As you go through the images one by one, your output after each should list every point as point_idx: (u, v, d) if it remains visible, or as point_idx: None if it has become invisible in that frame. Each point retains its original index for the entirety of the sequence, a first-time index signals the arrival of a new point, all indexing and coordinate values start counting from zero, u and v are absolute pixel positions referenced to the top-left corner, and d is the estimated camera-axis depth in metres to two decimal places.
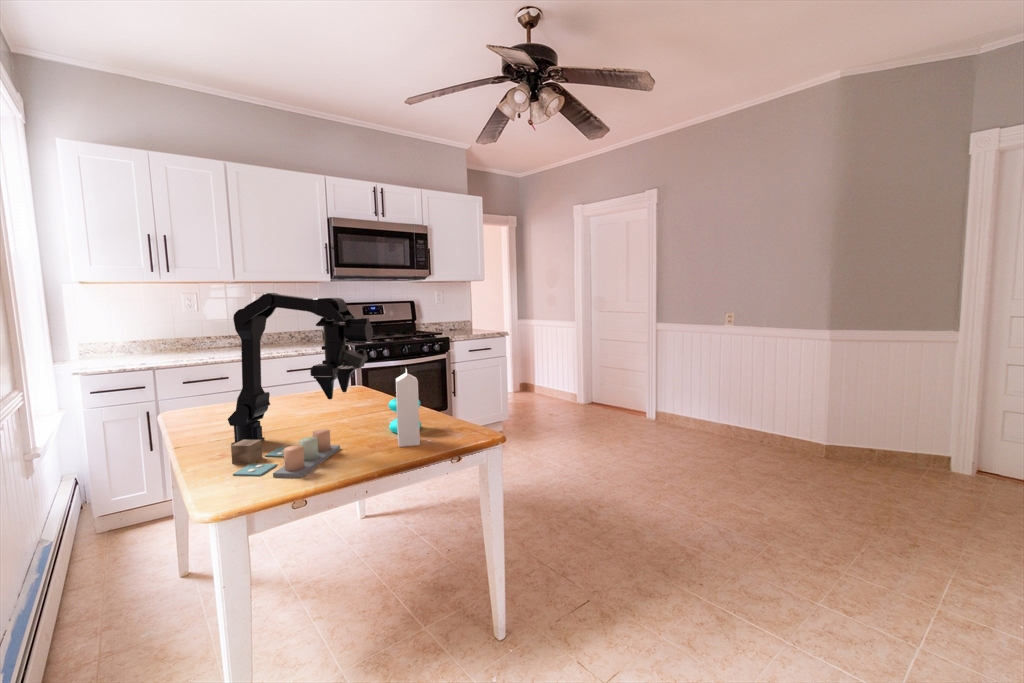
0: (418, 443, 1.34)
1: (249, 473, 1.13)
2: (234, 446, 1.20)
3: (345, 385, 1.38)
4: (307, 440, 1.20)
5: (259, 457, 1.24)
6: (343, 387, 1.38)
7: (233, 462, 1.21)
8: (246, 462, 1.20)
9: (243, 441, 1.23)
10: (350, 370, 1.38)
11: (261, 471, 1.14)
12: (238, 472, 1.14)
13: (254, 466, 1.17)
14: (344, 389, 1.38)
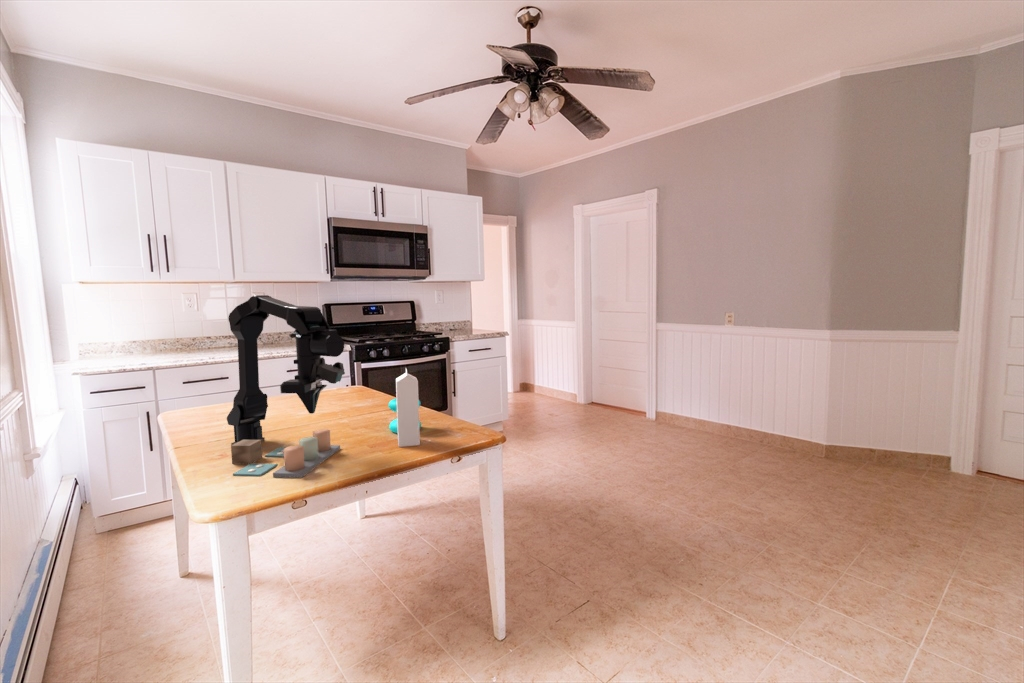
0: (418, 443, 1.34)
1: (249, 473, 1.13)
2: (234, 446, 1.20)
3: None
4: (307, 440, 1.20)
5: (259, 457, 1.24)
6: None
7: (233, 462, 1.21)
8: (246, 462, 1.20)
9: (243, 441, 1.23)
10: (318, 388, 1.24)
11: (261, 471, 1.14)
12: (238, 472, 1.14)
13: (254, 466, 1.17)
14: None
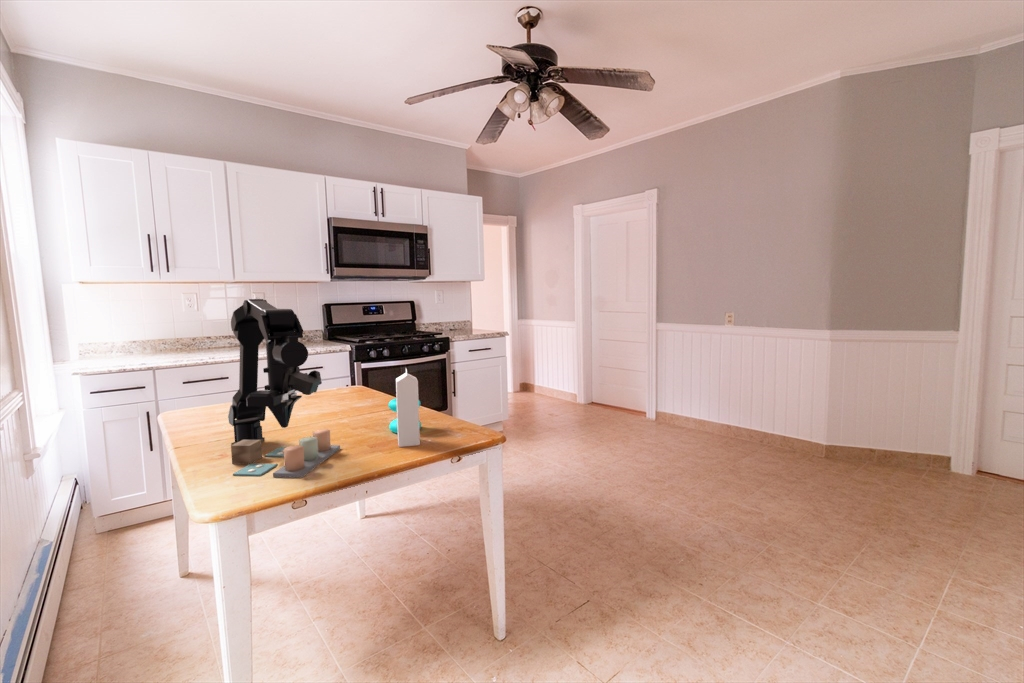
0: (418, 443, 1.34)
1: (249, 473, 1.13)
2: (234, 446, 1.20)
3: None
4: (307, 440, 1.20)
5: (259, 457, 1.24)
6: None
7: (233, 462, 1.21)
8: (246, 462, 1.20)
9: (243, 441, 1.23)
10: (292, 399, 1.11)
11: (261, 471, 1.14)
12: (238, 472, 1.14)
13: (254, 466, 1.17)
14: None
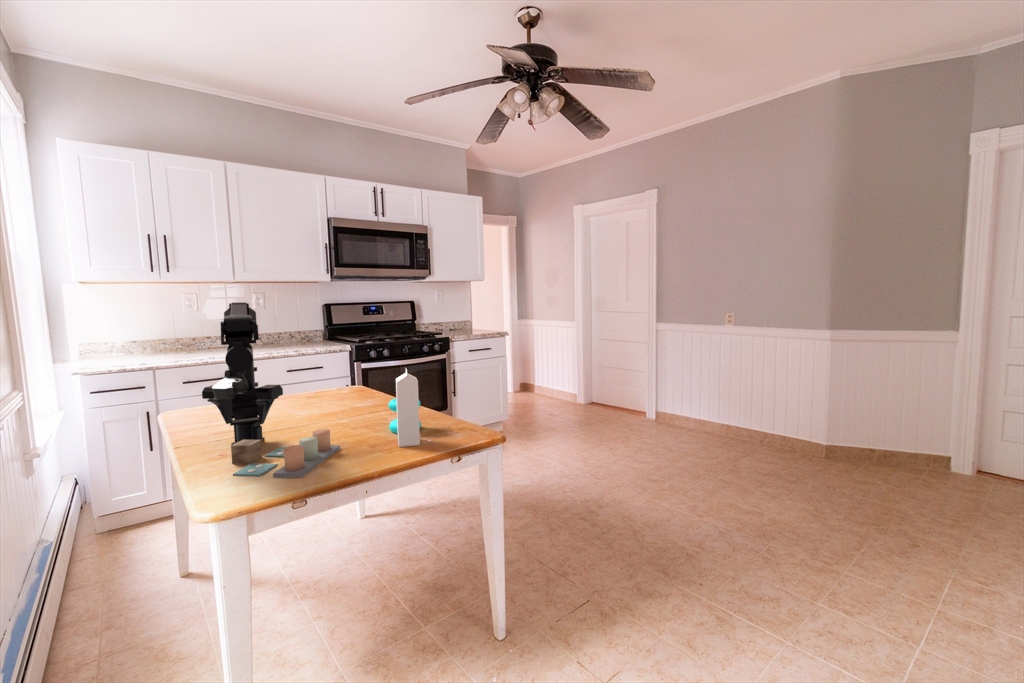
0: (418, 443, 1.34)
1: (249, 473, 1.13)
2: (234, 446, 1.20)
3: None
4: (307, 440, 1.20)
5: (259, 457, 1.24)
6: None
7: (233, 462, 1.21)
8: (246, 462, 1.20)
9: (243, 441, 1.23)
10: None
11: (261, 471, 1.14)
12: (238, 472, 1.14)
13: (254, 466, 1.17)
14: None
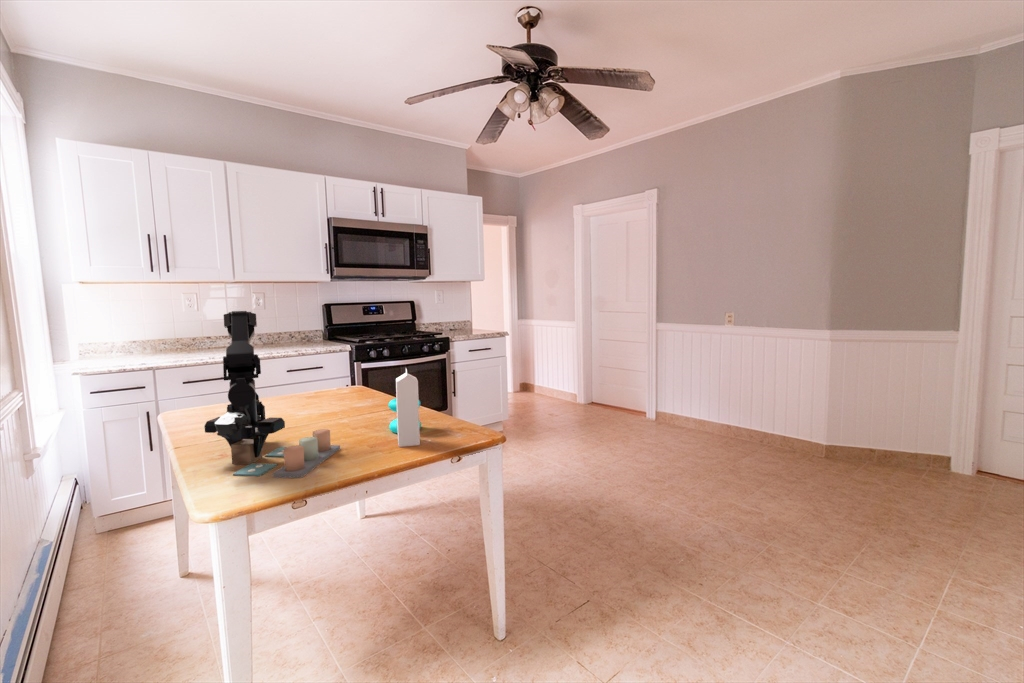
0: (418, 443, 1.34)
1: (249, 473, 1.13)
2: (234, 446, 1.20)
3: None
4: (307, 440, 1.20)
5: (259, 457, 1.24)
6: None
7: (233, 462, 1.21)
8: (246, 462, 1.20)
9: (243, 441, 1.23)
10: None
11: (261, 471, 1.14)
12: (238, 472, 1.14)
13: (254, 466, 1.17)
14: None
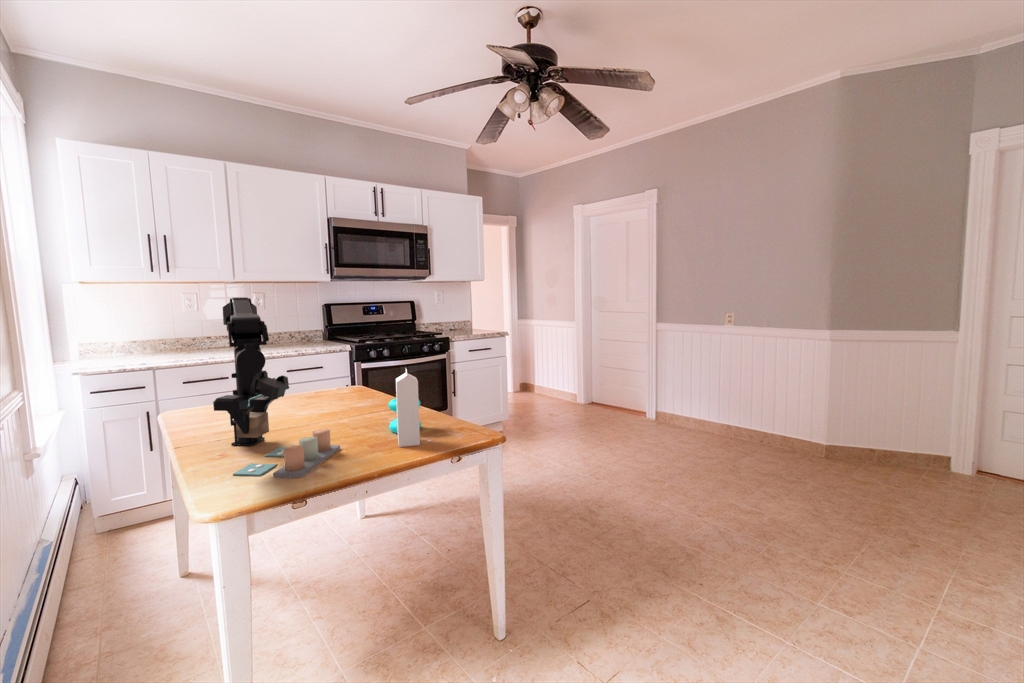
0: (418, 443, 1.34)
1: (249, 473, 1.13)
2: (257, 417, 1.13)
3: None
4: (307, 440, 1.20)
5: None
6: None
7: (257, 435, 1.13)
8: (266, 430, 1.16)
9: None
10: (266, 401, 1.17)
11: (261, 471, 1.14)
12: (238, 472, 1.14)
13: (254, 466, 1.17)
14: None
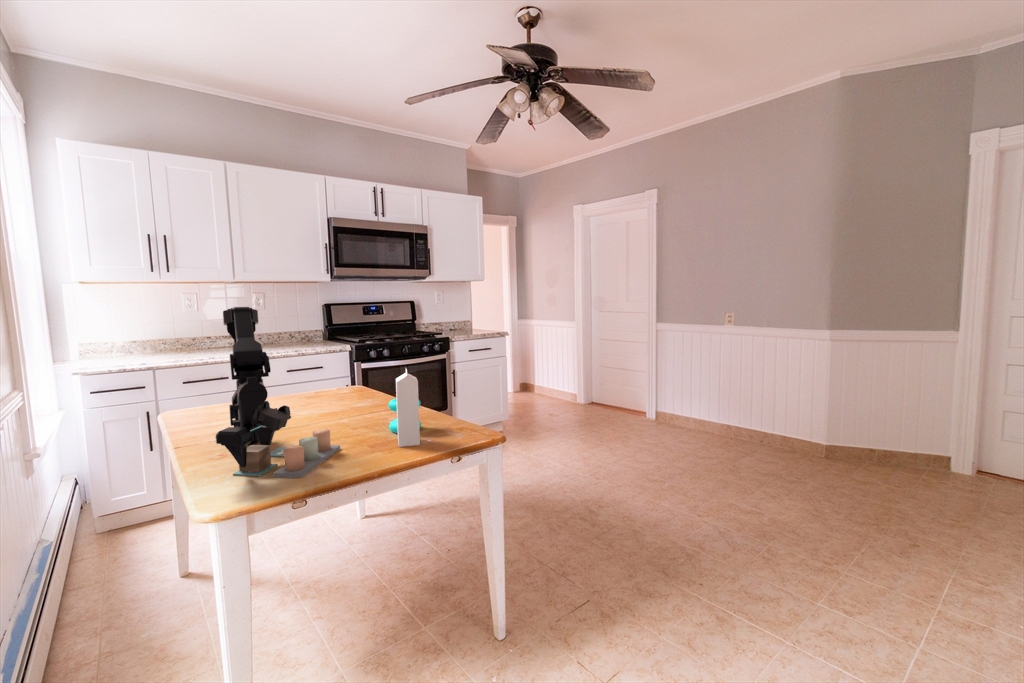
0: (418, 443, 1.34)
1: (249, 473, 1.13)
2: (260, 451, 1.14)
3: None
4: (307, 440, 1.20)
5: None
6: None
7: (259, 469, 1.14)
8: (268, 463, 1.17)
9: (247, 450, 1.14)
10: None
11: (261, 471, 1.14)
12: (238, 472, 1.14)
13: None
14: None
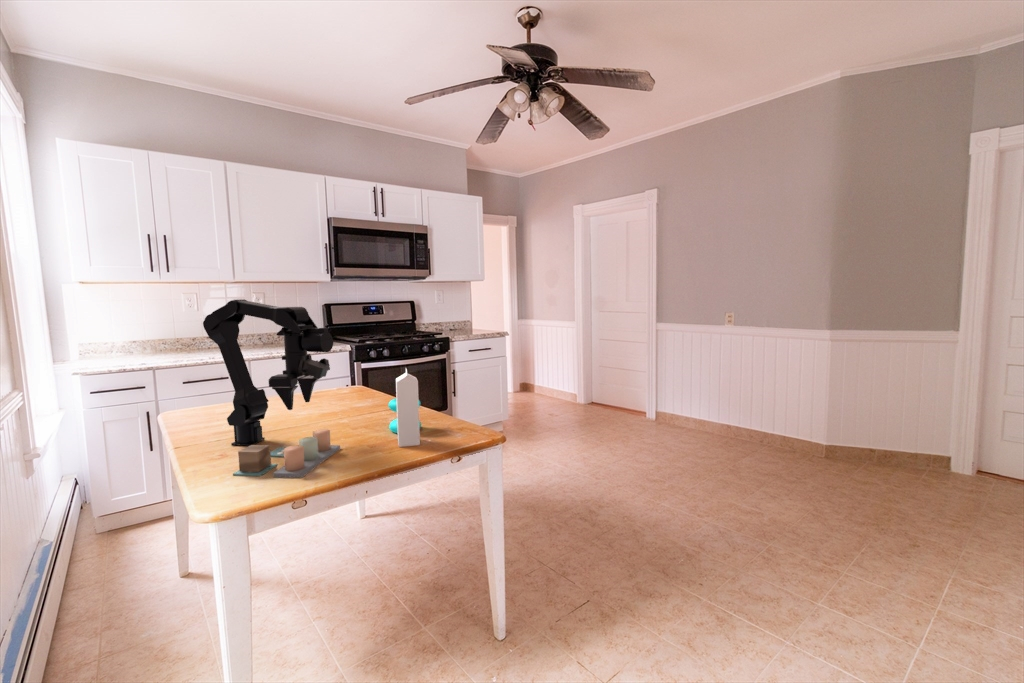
0: (418, 443, 1.34)
1: (249, 473, 1.13)
2: (260, 451, 1.14)
3: (308, 395, 1.37)
4: (307, 440, 1.20)
5: None
6: (306, 397, 1.37)
7: (259, 469, 1.14)
8: (268, 463, 1.17)
9: (247, 450, 1.14)
10: (313, 380, 1.37)
11: (261, 471, 1.14)
12: (238, 472, 1.14)
13: None
14: (307, 399, 1.37)
